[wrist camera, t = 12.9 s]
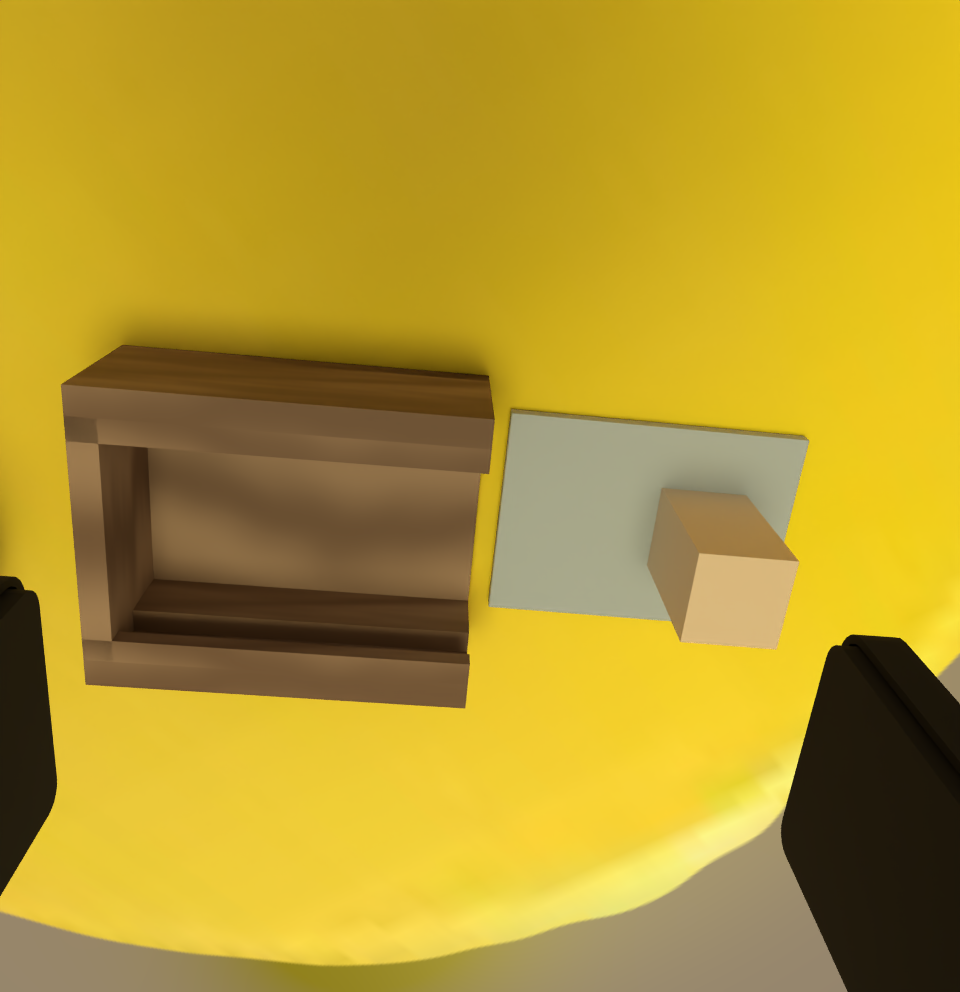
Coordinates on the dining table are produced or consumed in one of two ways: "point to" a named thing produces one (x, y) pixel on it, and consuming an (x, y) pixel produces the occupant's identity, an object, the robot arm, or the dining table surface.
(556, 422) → the cover plate
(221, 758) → the dining table surface
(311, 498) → the walnut box
